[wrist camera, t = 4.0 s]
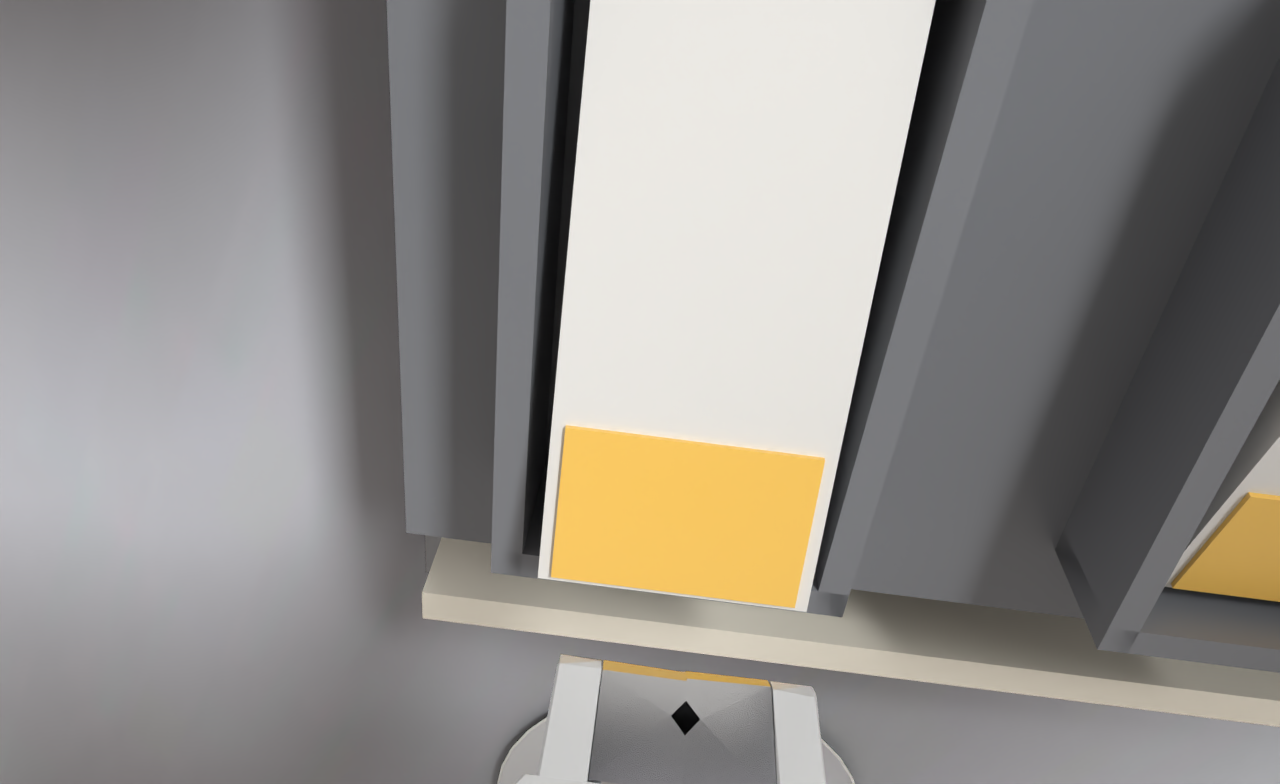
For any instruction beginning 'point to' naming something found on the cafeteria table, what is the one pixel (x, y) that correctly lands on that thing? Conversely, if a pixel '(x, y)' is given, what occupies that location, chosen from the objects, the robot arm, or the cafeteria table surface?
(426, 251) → the switch box
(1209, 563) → the rocker
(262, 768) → the cafeteria table surface
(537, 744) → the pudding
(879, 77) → the rocker
